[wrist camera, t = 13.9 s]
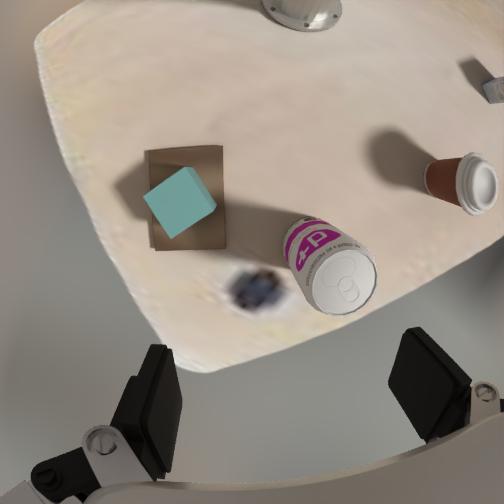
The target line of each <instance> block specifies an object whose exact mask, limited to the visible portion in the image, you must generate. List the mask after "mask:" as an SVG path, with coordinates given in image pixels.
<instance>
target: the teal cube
mask: <svg viewBox="0 0 504 504" xmlns="http://www.w3.org/2000/svg"><path fill="white" fill-rule="evenodd" d="M143 198H144V199H145V201H146V202H147V204H148V206H149V207H150V209H151V210H152V212H153V213H154V215H155V216H156V218H157V219H158V221H159V222H160V224H161V225H162V227H163V228H164V230H165V231H166V233H167V234H168V236H169V237H170V239H172V238H173V237H175V236H176V235H178V234H179V233H181V232H182V231H184V230H185V229H187V228H188V227H190V226H191V225H193V224H194V223H196V222H197V221H199V220H200V219H202V218H203V217H205V216H207V215H208V214H210V213H211V212H213V211H214V209H215V208H216V206H217V204H216V202H215V201H214V199H213V198H212V196H211V195H210V193H209V192H208V190H207V188H206V187H205V185H204V184H203V182H202V181H201V179H200V178H199V176H198V174H197V173H196V171H195V170H194V168H193V167H184V168H182V169H181V170H179V171H178V172H176V173H175V174H173V175H172V176H171V177H169V178H168V179H166V180H165V181H164V182H162V183H161V184H159V185H158V186H157V187H155V188H154V189H153V190H151V191H150V192H148V193H147V194H146V195H144V196H143Z"/></svg>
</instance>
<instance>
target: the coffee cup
mask: <svg viewBox="0 0 504 504" xmlns="http://www.w3.org/2000/svg"><path fill="white" fill-rule="evenodd" d="M424 184H425V188H426V190H427V191H428V193H429V194H430V195H431V196H433V197H435V198H439V199H441V200H444V201H447V202H450V203H452V204H455V205H458V206H460V207H462V208H463V210H464V211H466V212H467V213H468V214H470V215H472V216H480V215H482V214H483V213H485V212H486V211H487V210H489V209H490V208H492V206H493V205H494V203H495V201H496V198H497V194H498V179H497V174H496V172H495V170H494V168H493V166H492V165H491V164H490V163H489V162H488V161H487V160H486V159H485V158H484V157H483V156H482V155H481V154H478V153H469V154H467V155H465V156H464V157H463V158H453V159H443V160H433V161H431V162H429V164H428V165H427V166H426V168H425V171H424Z"/></svg>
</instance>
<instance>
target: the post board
mask: <svg viewBox="0 0 504 504" xmlns="http://www.w3.org/2000/svg"><path fill="white" fill-rule="evenodd" d="M149 166H150V190H153V189H154V188H155V187H157V186H158V185H159V184H161V183H162V182H164V181H165V180H166V179H168V178H169V177H171V176H172V175H173V174H175V173H176V172H178V171H179V170H181V169H182V168H184V167H193V168H194V170H195V171H196V173H197V174H198V176H199V178H200V179H201V181H202V182H203V184H204V185H205V187H206V188H207V190H208V192H209V193H210V195H211V196H212V198H213V199H214V201H215V202H216V204H217V206H216V208H215V209H214V211H213V212H211V213H210V214H208V215H207V216H205V217H203V218H202V219H200V220H199V221H197V222H196V223H194V224H193V225H191V226H190V227H188V228H187V229H185V230H184V231H182V232H181V233H179V234H178V235H176V236H175V237H173V238H172V239H170V237H169V236H168V234H167V233H166V231H165V230H164V228H163V227H162V225H161V224H160V222H159V221H158V219H157V218H156V216H155V215H154V213H153V212H152V220H153V232H154V242H155V251H172V250H205V249H225V248H226V244H225V217H224V182H223V146H204V147H188V148H176V149H165V150H155V151H149Z"/></svg>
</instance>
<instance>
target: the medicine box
mask: <svg viewBox="0 0 504 504" xmlns="http://www.w3.org/2000/svg"><path fill="white" fill-rule="evenodd" d="M482 87H483V89H484V91H485V94H486V96H487V98H488V101H489V103H490V104H494V103H503V102H504V77H499V78H495V79H493V80H491V81H489V82H487V83H485V84H483V85H482Z"/></svg>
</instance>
